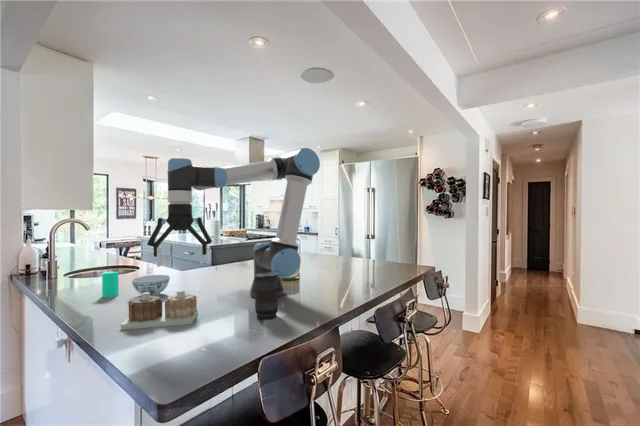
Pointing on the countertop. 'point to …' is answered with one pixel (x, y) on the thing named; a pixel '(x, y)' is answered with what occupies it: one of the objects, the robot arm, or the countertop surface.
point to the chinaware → (151, 284)
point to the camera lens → (266, 295)
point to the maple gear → (180, 306)
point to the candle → (109, 284)
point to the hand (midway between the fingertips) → (180, 265)
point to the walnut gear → (145, 309)
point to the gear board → (159, 320)
